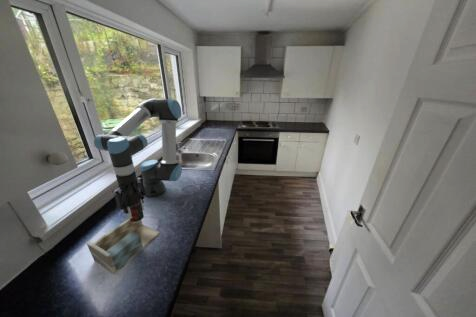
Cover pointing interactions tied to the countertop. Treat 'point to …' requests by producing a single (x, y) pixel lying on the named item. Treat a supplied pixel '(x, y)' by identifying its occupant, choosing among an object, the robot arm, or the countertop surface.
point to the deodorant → (135, 206)
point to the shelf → (125, 232)
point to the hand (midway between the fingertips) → (135, 213)
